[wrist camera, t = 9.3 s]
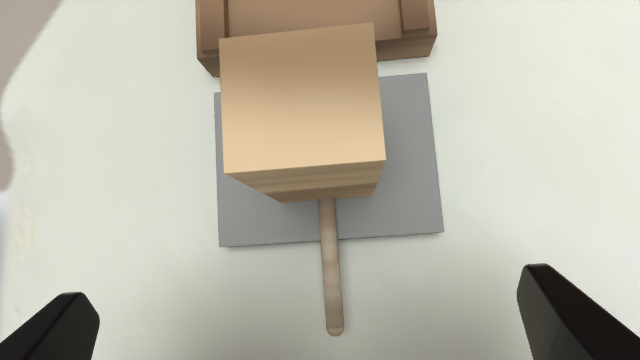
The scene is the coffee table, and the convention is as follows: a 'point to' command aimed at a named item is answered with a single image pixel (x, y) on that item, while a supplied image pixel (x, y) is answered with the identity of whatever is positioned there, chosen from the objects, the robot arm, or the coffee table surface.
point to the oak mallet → (305, 125)
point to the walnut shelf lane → (317, 23)
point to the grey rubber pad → (356, 212)
